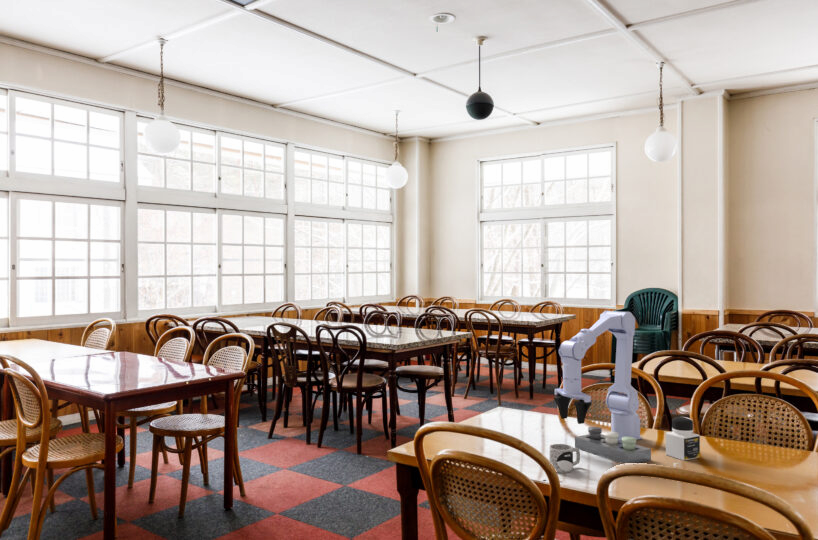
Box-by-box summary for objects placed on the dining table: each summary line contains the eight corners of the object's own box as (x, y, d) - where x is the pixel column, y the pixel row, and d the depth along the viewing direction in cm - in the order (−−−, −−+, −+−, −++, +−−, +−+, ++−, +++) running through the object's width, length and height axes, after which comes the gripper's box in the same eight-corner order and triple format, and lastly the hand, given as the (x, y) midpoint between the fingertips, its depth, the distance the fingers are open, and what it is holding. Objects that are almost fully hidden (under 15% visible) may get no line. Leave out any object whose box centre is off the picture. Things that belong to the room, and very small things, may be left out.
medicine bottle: (684, 461, 192) (684, 421, 192) (665, 455, 198) (665, 416, 198) (700, 457, 195) (700, 419, 195) (680, 451, 202) (680, 414, 202)
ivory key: (611, 443, 203) (611, 430, 203) (621, 446, 199) (621, 433, 199) (601, 445, 201) (601, 432, 201) (611, 448, 197) (611, 435, 197)
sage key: (628, 448, 197) (628, 435, 197) (639, 452, 193) (639, 438, 193) (618, 450, 195) (618, 437, 195) (629, 454, 191) (629, 440, 191)
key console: (597, 443, 212) (597, 432, 212) (651, 460, 193) (650, 449, 193) (574, 447, 207) (574, 436, 207) (628, 465, 188) (627, 453, 188)
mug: (558, 474, 180) (558, 451, 180) (545, 467, 186) (544, 445, 186) (587, 470, 184) (587, 447, 184) (572, 463, 190) (572, 441, 190)
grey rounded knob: (594, 438, 209) (594, 426, 209) (604, 441, 205) (604, 429, 205) (585, 440, 207) (585, 427, 207) (595, 443, 203) (595, 430, 203)
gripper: (547, 376, 207) (547, 417, 207) (578, 383, 194) (579, 427, 194) (563, 374, 210) (563, 415, 210) (595, 381, 197) (596, 424, 198)
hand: (572, 420), depth 202 cm, fingers open, 7 cm apart
